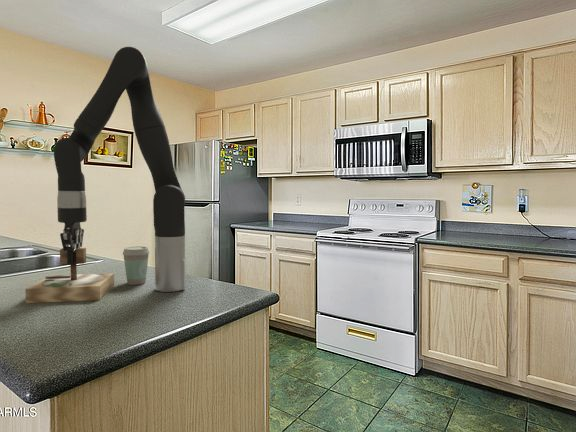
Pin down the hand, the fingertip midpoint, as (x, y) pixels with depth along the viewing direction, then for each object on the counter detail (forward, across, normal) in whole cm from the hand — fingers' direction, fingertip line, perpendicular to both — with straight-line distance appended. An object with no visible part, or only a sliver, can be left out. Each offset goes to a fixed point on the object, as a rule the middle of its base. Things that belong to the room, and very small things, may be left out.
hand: (73, 263), depth 113 cm
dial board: (+9, 0, 0) cm, 9 cm away
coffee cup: (+9, +11, -16) cm, 22 cm away
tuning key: (+5, 0, +2) cm, 5 cm away
